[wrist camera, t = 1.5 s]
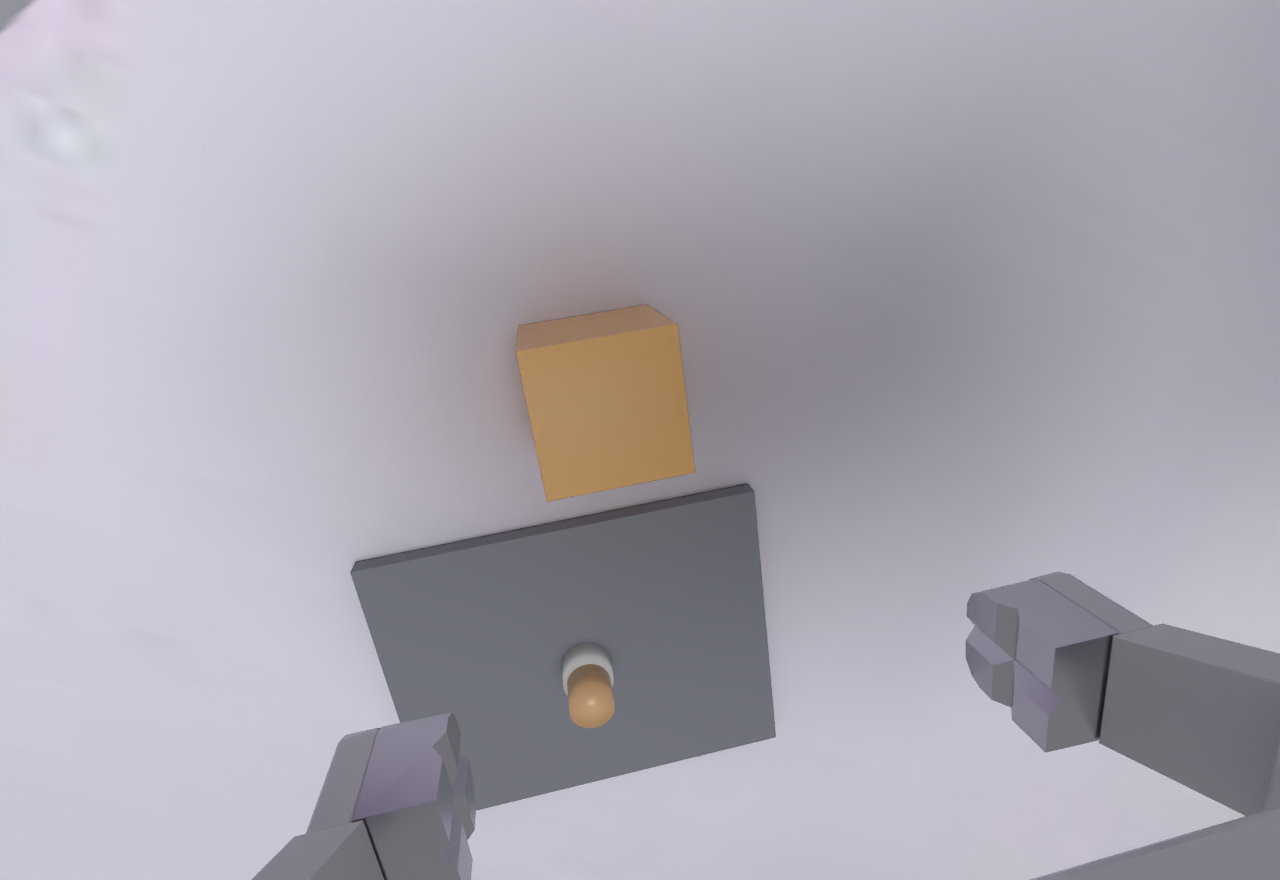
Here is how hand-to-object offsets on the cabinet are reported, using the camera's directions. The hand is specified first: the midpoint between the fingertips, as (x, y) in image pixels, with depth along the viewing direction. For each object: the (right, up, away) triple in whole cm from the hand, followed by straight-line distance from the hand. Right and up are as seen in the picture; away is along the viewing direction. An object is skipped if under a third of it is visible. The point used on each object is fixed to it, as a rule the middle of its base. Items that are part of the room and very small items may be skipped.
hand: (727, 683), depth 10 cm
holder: (-4, -8, +25) cm, 27 cm away
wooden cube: (-4, +7, +21) cm, 22 cm away
